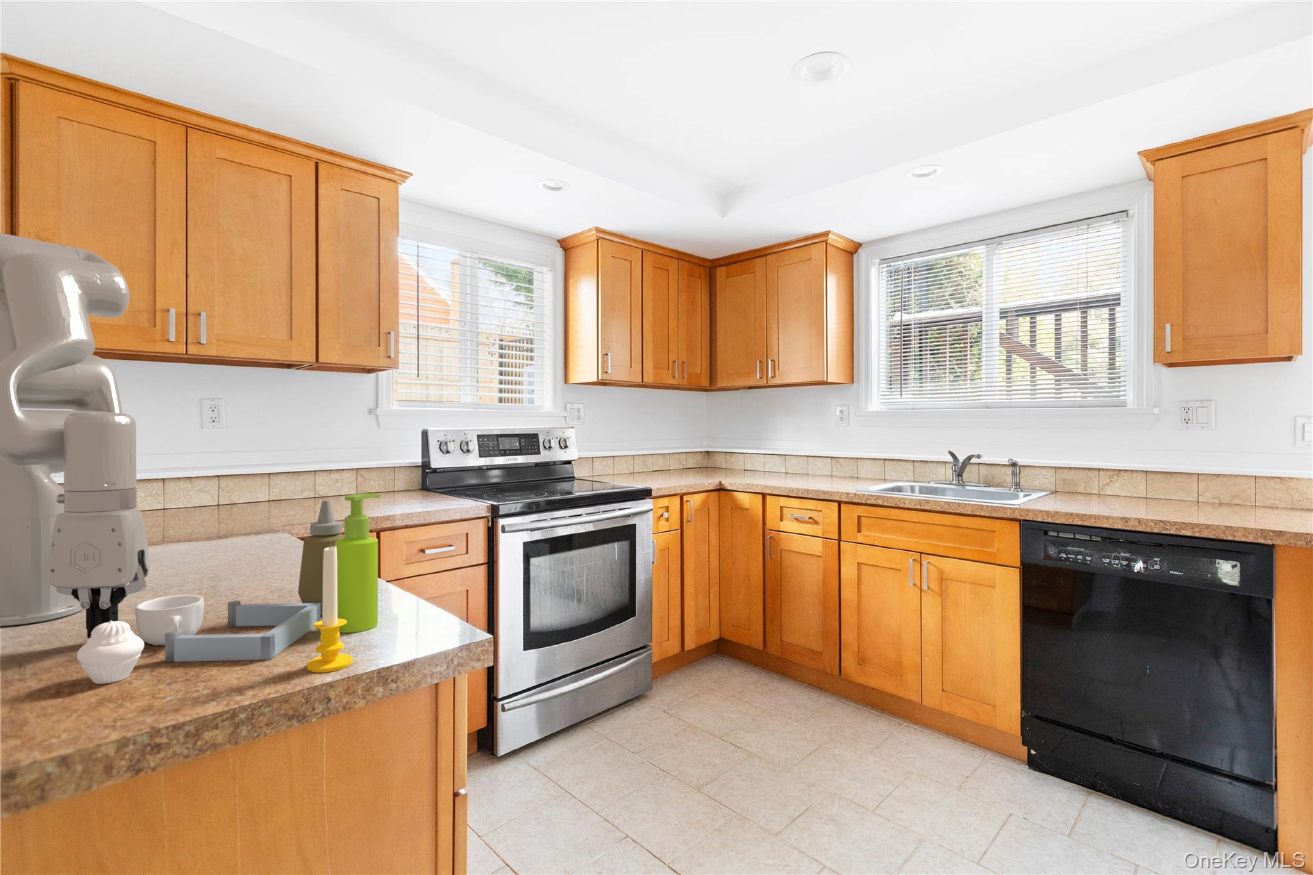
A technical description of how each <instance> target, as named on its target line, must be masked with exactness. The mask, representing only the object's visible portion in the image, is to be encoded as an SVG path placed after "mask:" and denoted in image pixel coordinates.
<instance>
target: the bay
mask: <svg viewBox="0 0 1313 875" xmlns="http://www.w3.org/2000/svg"><path fill="white" fill-rule="evenodd" d="M321 616H322V615H321V603H302V602H301V603H297V602H296V603H242V602H241V600H231V601H228V602H227V627H229V628H233V627H234V628H236V627H266V626H267V627H273V626H275V627H273V628H272V629H271V630H268V631H267V632H266V633H237V634H236V633H235V634H231V633H230V634H229V633H228V634H227V633H225V634H224V633H223V634H195V635H181V632H180V631H172V632H168V633H166V634H165V645H164V662H165V663H174V662H175V663H176V662H210V661H211V662H215V661H217V662H218V661H219V662H221V661H257V660H258V661H259V660H260V661H262V660H265V661H266V660H272V659H273V658H275V657H276V656H278V654H280V653H281V652H283V651H284V650H286V649H287V648H288V647H289V646H290V645H292V644H293V643H295V642H296V641H297V640H299V639H300V638H302V637H303V636H304V635H306V634H307V633H308V632H310V631H311V630H312V629H314V628H315V627H313V624H314V623H316V622H318V621H321Z"/></svg>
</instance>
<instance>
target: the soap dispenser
mask: <svg viewBox="0 0 1313 875" xmlns="http://www.w3.org/2000/svg"><path fill="white" fill-rule="evenodd" d="M371 498H372V499H373V498H374V499H380V498H381V495H380V494H377V493H376V494H375V493H364V492H361V493H360V492H359V493H354V494H349V495H346V496H344V501H349V502H350V514H348V515H347V516H345V517H344V518H343V520H344V522H343V523H344V525H343V526H344V527H343V528H344V531H343V532H344V534H343V535H344V538H343V539H340V540H337V541H335V546H336V547H337V619H345V620H347V623H346V624H344V625H342V626H340V630H339V633H346V634H348V633H349V634H351V633H352V634H353V633H359V632H365V631H368V630H372V629H374V628H376V627H377V626H378V625H379V624H378V622H379V621H378V620H379V619H378V616H379V615H378V614H379V613H378V612H379V611H378V610H379V609H378V608H379V605H378V604H379V603H378V602H379V596H378V594H379V593H378V592H379V591H378V590H379V583H378V582H379V539H378V538H377V537H372V536H370V516H369V515H366V514H365V513H364V500H366V499H371ZM377 624H378V625H377Z"/></svg>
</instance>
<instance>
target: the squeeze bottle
mask: <svg viewBox="0 0 1313 875" xmlns="http://www.w3.org/2000/svg"><path fill="white" fill-rule="evenodd" d="M342 530H343V523H342V522H341V521H336V520H335V516H334V511H333V508H332V503H331V500H329V499H328V500H322V501H321V504H320V508H319V513H318V518H317V521H316V522H312V523H310V524H309V535H310V536H307V537H305V539H304V540H303V544H302V553H301V554H302V555H301V562H300V572H299V580H298V581H299V582H298V589H297V590H298V591H297V593H298V596H299V598H300V600H301V601H300V602H301V603H321V616H322V613H323V556H324V549H325V548H327V547H330V543H331V546H335V541H337V540H340V539H343V538H344V534H343V533H342V532H343V531H342Z"/></svg>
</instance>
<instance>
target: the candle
mask: <svg viewBox="0 0 1313 875" xmlns="http://www.w3.org/2000/svg"><path fill="white" fill-rule="evenodd" d="M321 616H322V620H321V621H318V622H316V623H314V624H313V627H314V628H315V629H319V630H320V631H319V632H320V636H319V640H320V644H319V645H317V646H316V647H315V652H316V653H318V654H320V656H316V657H314V658H312V659H310V660H308V662H307V663H306V670H308V671H309V672H313V673H317V674H319V673H322V674H323V673H332V672H338V671H341V670H343V669H346V668H348V667H349V666H351V664H353V659H354V658H353V656H352V655H351V654H346V653H339V652H340V651H342V650H343V649H344V648H345V643H343V642H342V641H340V638H341V632H339V630H340V626H342V625H344V624H346V623H347V620H345V619H337V547H336V546H331V543H330V547H327V548H325V549H324V556H323V613H322V615H321Z"/></svg>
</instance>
